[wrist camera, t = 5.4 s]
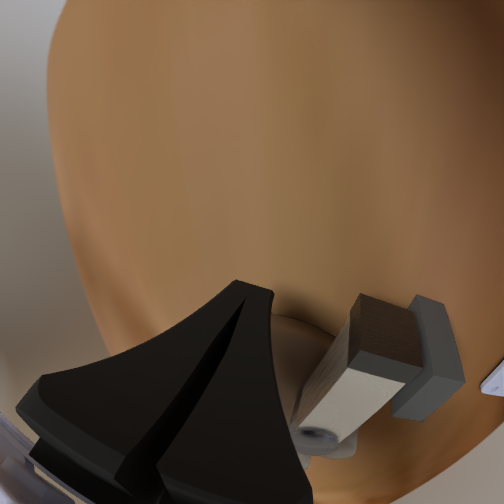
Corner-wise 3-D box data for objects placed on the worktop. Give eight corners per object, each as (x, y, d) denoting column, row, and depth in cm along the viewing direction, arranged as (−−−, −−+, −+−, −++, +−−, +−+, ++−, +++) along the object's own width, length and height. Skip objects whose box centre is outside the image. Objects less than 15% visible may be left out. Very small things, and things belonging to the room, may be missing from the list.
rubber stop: (443, 304, 10) (465, 382, 7) (413, 345, 11) (421, 421, 8) (416, 294, 10) (433, 375, 7) (387, 338, 12) (390, 416, 8)
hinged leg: (332, 412, 13) (324, 458, 11) (290, 400, 13) (277, 447, 11) (414, 312, 9) (425, 372, 7) (358, 292, 9) (358, 353, 7)
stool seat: (410, 354, 12) (415, 408, 9) (321, 444, 18) (314, 480, 15) (180, 278, 13) (145, 321, 11) (175, 396, 19) (157, 428, 17)
